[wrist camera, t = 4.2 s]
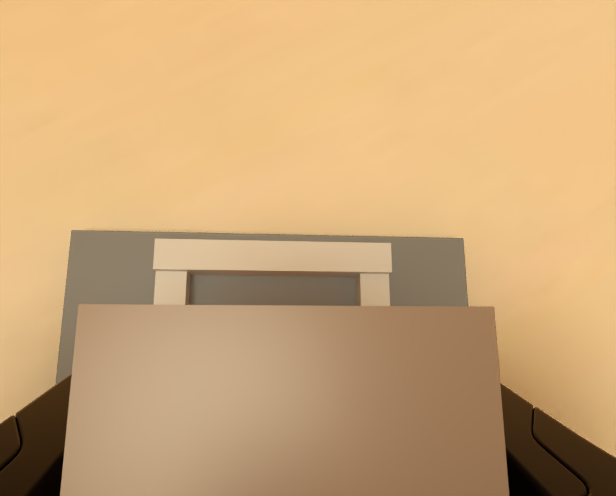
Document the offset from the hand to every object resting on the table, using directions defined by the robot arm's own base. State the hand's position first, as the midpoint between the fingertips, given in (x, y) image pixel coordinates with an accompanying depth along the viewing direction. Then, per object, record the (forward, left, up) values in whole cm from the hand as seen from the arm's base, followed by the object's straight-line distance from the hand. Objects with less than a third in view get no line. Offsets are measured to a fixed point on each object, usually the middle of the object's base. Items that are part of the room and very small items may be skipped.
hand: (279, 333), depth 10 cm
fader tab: (-1, +1, -6) cm, 6 cm away
